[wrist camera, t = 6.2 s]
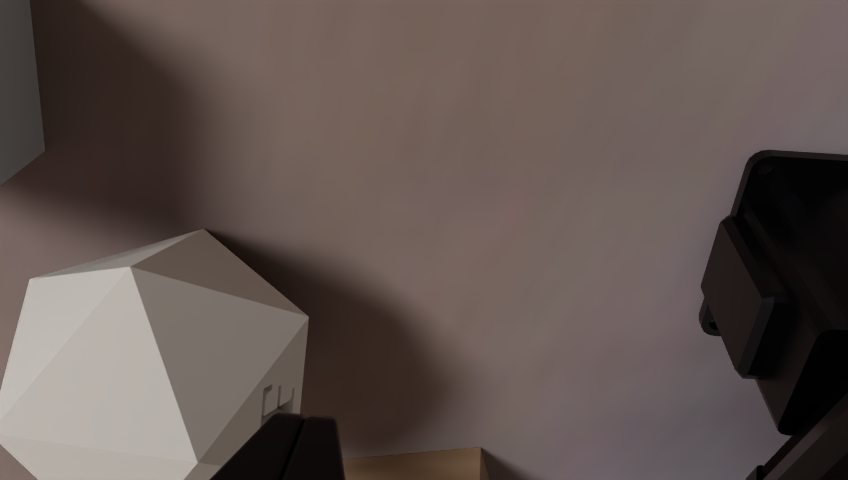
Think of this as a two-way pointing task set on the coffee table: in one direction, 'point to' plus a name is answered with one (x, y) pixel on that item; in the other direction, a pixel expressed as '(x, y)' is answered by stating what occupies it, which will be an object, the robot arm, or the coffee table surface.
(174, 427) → the die
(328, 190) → the coffee table surface
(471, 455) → the walnut block
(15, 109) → the slate block
